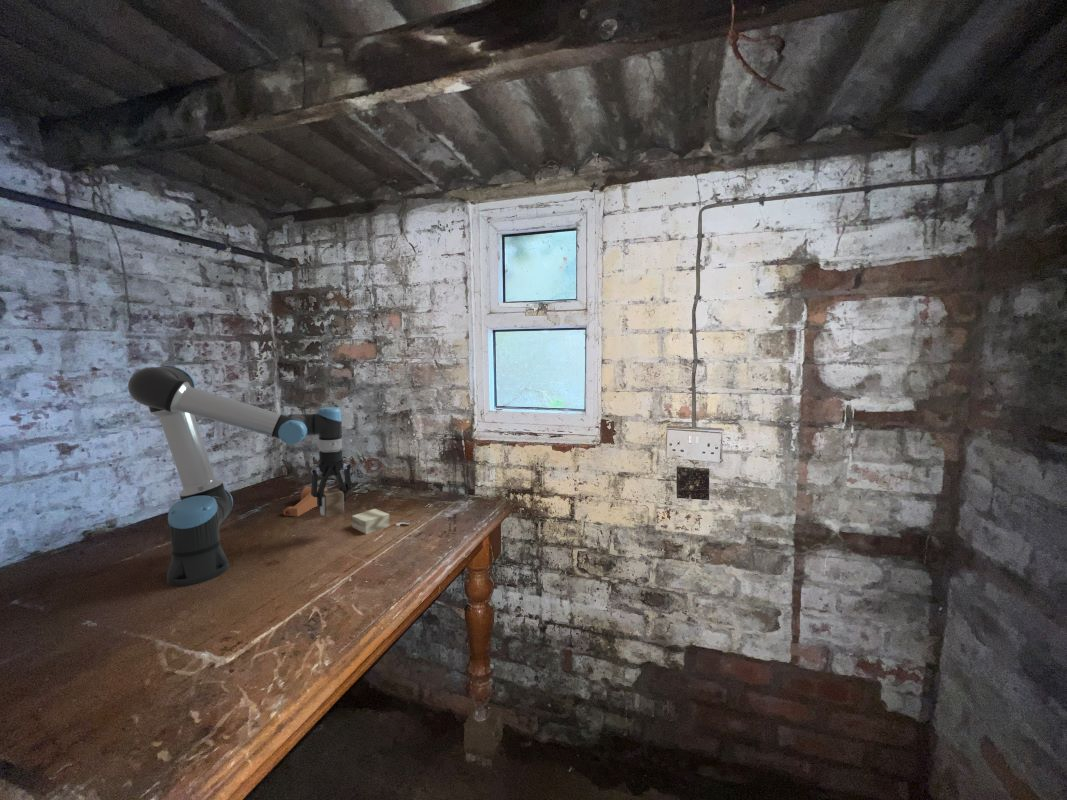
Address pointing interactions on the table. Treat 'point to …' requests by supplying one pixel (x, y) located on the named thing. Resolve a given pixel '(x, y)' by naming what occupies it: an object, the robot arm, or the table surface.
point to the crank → (303, 503)
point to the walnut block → (333, 502)
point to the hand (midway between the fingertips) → (332, 512)
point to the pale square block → (370, 521)
